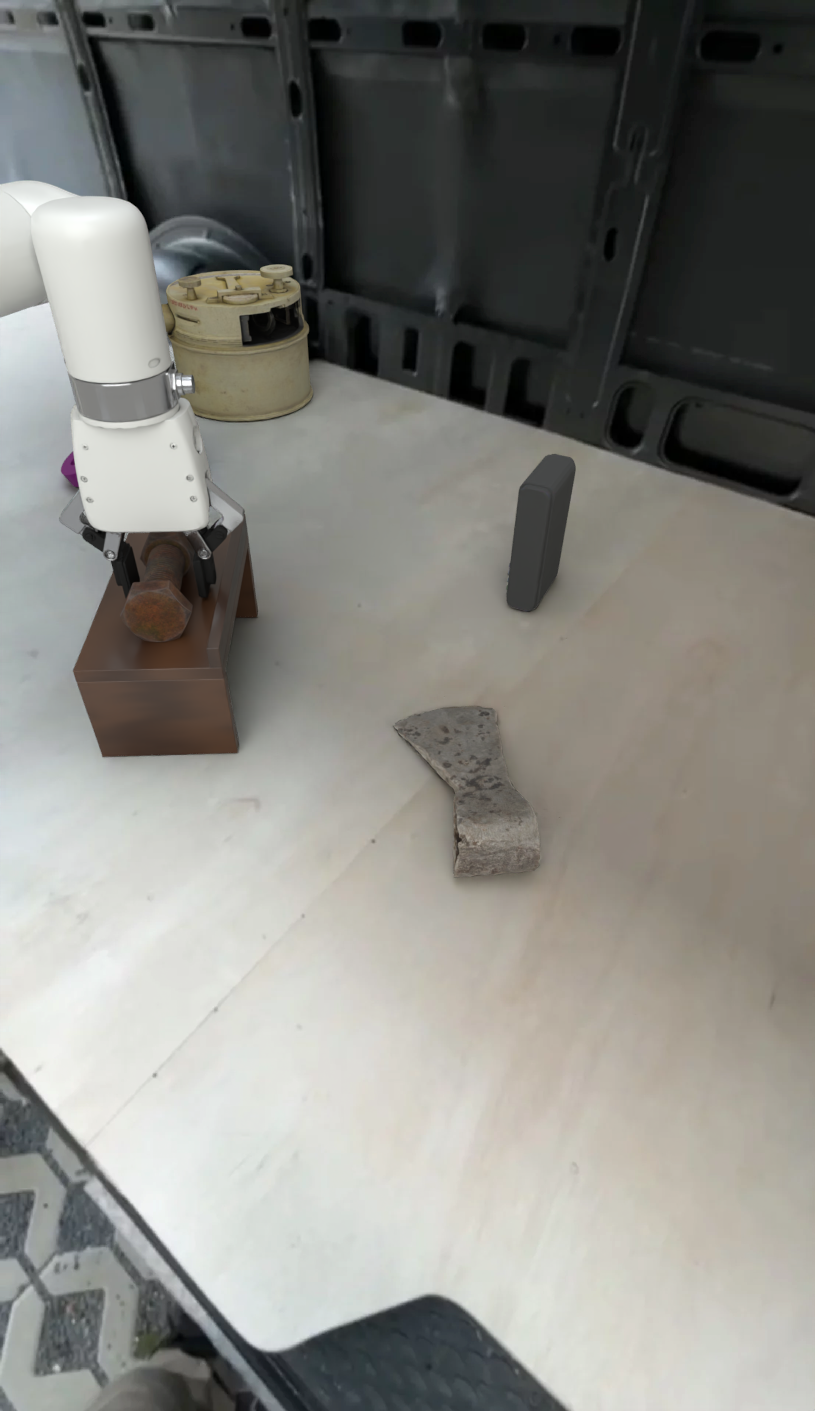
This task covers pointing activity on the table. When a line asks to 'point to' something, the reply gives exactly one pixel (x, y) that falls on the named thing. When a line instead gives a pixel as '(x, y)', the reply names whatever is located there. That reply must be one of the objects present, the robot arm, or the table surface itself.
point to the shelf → (168, 665)
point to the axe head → (477, 790)
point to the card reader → (539, 531)
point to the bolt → (160, 589)
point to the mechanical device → (240, 342)
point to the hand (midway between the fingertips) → (169, 588)
